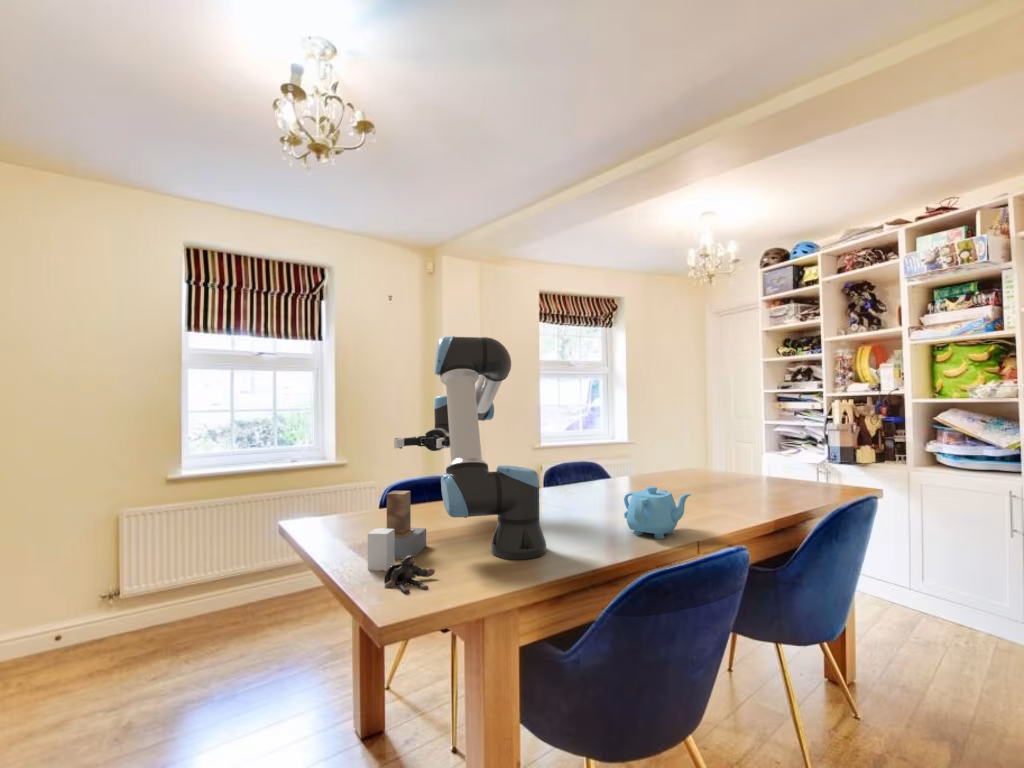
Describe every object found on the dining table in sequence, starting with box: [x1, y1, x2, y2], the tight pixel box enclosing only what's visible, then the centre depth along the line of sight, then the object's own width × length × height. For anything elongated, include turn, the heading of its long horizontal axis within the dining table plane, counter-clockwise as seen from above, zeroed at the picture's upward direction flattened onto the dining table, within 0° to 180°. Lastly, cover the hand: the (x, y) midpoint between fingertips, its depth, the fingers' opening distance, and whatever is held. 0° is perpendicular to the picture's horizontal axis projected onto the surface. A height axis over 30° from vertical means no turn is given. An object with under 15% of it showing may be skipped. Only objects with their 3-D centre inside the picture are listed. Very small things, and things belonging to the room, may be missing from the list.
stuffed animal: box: [383, 555, 436, 594], centre depth 115 cm, size 12×10×12 cm
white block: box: [367, 527, 396, 572], centre depth 125 cm, size 5×5×9 cm
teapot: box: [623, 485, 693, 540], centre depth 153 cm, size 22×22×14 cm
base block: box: [384, 526, 427, 559], centre depth 138 cm, size 12×12×5 cm
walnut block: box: [386, 490, 412, 535], centre depth 139 cm, size 5×5×11 cm
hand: (416, 443), depth 153 cm, fingers open, 13 cm apart
